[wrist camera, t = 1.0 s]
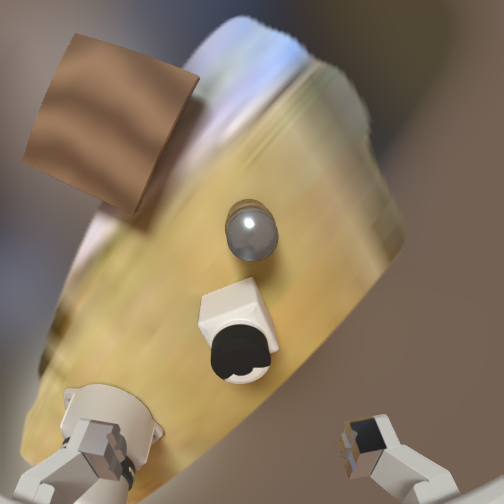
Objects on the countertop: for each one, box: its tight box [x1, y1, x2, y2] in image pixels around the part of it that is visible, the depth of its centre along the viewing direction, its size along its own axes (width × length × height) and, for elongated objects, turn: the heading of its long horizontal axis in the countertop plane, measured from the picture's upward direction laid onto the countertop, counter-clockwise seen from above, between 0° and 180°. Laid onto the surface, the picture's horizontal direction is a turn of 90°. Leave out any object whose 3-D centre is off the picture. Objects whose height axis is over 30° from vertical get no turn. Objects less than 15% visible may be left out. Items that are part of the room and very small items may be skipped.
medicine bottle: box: [197, 277, 279, 384], centre depth 36 cm, size 7×7×12 cm
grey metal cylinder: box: [225, 199, 278, 262], centre depth 35 cm, size 5×5×7 cm
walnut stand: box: [22, 34, 200, 215], centre depth 31 cm, size 16×16×4 cm
